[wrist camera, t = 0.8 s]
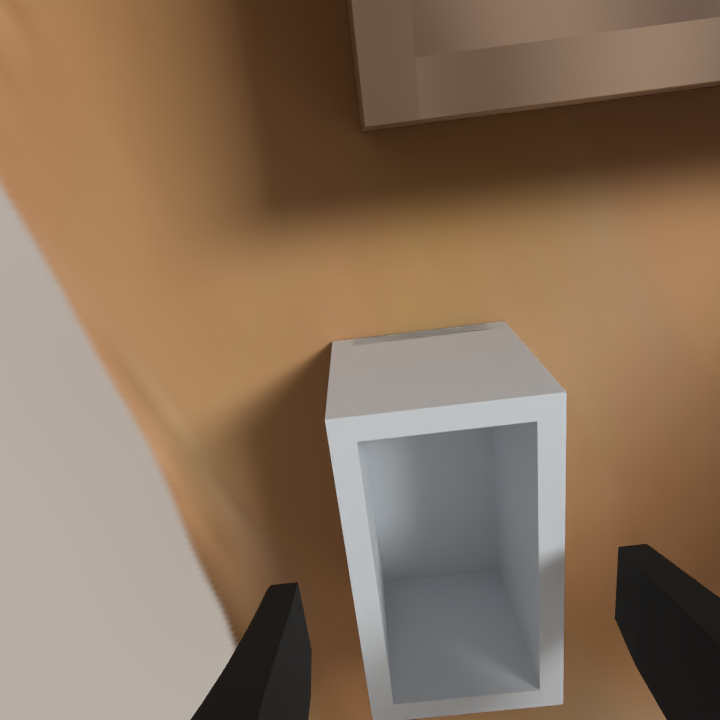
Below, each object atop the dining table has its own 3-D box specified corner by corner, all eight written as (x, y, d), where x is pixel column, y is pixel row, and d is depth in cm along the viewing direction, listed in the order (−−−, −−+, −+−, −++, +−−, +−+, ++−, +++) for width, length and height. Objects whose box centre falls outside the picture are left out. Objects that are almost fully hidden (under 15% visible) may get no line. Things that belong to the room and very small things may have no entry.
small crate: (504, 321, 16) (566, 391, 12) (512, 569, 19) (563, 704, 15) (332, 341, 16) (324, 419, 12) (368, 585, 20) (373, 723, 15)
